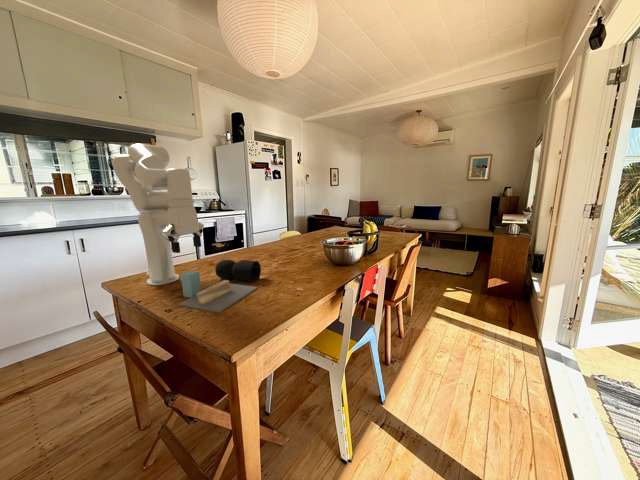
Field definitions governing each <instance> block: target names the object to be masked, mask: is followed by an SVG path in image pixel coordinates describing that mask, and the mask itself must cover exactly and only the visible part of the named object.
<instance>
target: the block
mask: <svg viewBox="0 0 640 480" xmlns="http://www.w3.org/2000/svg"><path fill="white" fill-rule="evenodd" d="M180 279H181V284H182V285H181V287H182V292H183V293H182V294H183V297H186V298H192V297H194V296H196V294H197V293H199V292H201V291H202V285H201V276H200V271H199V270H188V271H186V272H185V271H184V272H183V273H181V274H180Z"/></svg>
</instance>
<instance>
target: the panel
mask: <svg viewBox="0 0 640 480" xmlns="http://www.w3.org/2000/svg"><path fill="white" fill-rule="evenodd" d="M258 288H259V287H258V286H251V285H244V284H236V283H230V291H228V292H226V293H224V294H222V295H221V296H219V297H217V298H215V299H213V300H212V301H210V302H208V303H206V304H205V305H199V304H198V303H197V295H196V296H194V297H192V298H191V297H189V298H188V299H186V300H184V301H181V302H179V303H178V306H179V307H184V308H189V309H195V310H200V311H206V312H209V313H210V312H211V313H216V314H220V313H222V312H223V311H225V310H226V309H228V308H230V307H231V306H233V305H234V304H236V303H238V302H239V301H241V300H242V299H243V298H245V297H247V296H248V295H250V294H251V293H253V292H254V291H256V290H258Z"/></svg>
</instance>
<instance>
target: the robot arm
mask: <svg viewBox="0 0 640 480" xmlns="http://www.w3.org/2000/svg"><path fill="white" fill-rule="evenodd" d="M169 163H170V155H169V152H168V151H167V149H166V148H165V147H163V146H161V145H156V144H155V145H154V144H153V145H152V144H146V143H135V144H132V145H129V148H128V149H127V154H118V155H116V156H115V157H113V159H112V168H113V172H114V174H115V175H116V178H117V179H118V181H119V182H120V183H121V184H122V185H123V187H124V188H125V189H126V190H127V192H128V195H129V197H130V199H131V201H132V203H133V206H134V207H135V209H136V210H137V212H139V213H141V214H140V215H138V217H137V219H138V220H137V222H138V225H139V228H140V231H141V233H142V238H143V243H144V248H145V253H146V259H147V264H148V272H145V275H146V276H149V278H148V279H147V280H146V285H149V286H161V285H162V286H163V285H168V284H171V283H173V282H176V281H177V280H179V279H180V276H179V274H177V273H175V265H174V259H173V254H179V253H181V248H180V247H181V246H180V242H179V239H180V237H183V236H187V235H192V240H193V247H195V248H200V247H202V241H201V237H202V233H203V232H204V228H205V227H204V226H205V225H204V223H201V222H200V221H199V219H198V213H197V211H196V207H194V203H195V200H194V199H193V191H192V190H193V189H192V183H191V182H192V180H191V174H190V171H189V170H188V169H186V168H168V169H167V168H166V167H167V166H168V165H169Z"/></svg>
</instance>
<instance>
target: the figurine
mask: <svg viewBox="0 0 640 480" xmlns="http://www.w3.org/2000/svg"><path fill="white" fill-rule="evenodd" d="M261 270H262V267H261V264H260V262H259V261H257V260H246V259H245V260H239V261H235V260H233V259H223V260H220V261H219V262H218V263H217V264H216V266H215V275H216V276H217V278H220V279H221V280H228V281H230V280H233V279H236V280H238V281H241V282H247V283H248V282H254V283H255V282H256V281H259V279H260V276H261V273H262V271H261Z"/></svg>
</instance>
